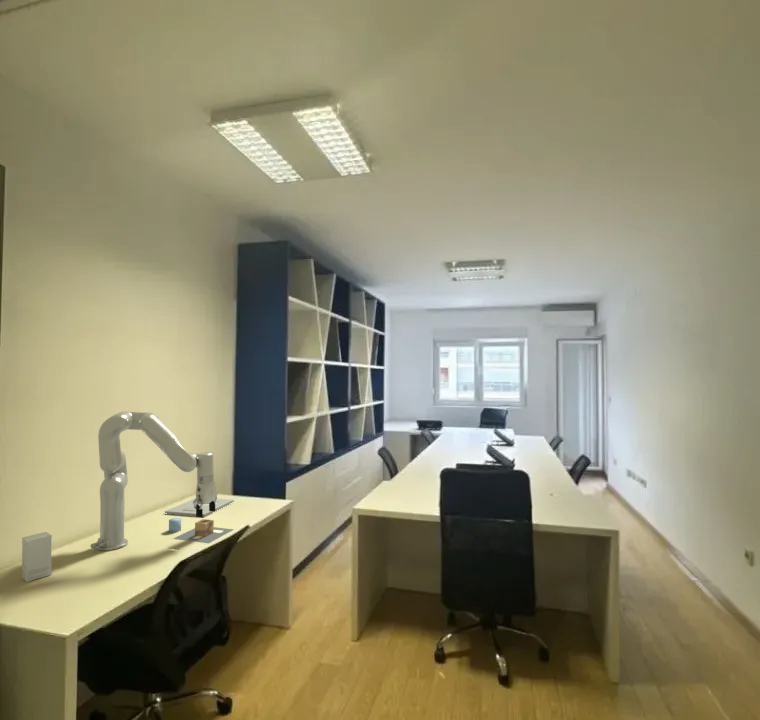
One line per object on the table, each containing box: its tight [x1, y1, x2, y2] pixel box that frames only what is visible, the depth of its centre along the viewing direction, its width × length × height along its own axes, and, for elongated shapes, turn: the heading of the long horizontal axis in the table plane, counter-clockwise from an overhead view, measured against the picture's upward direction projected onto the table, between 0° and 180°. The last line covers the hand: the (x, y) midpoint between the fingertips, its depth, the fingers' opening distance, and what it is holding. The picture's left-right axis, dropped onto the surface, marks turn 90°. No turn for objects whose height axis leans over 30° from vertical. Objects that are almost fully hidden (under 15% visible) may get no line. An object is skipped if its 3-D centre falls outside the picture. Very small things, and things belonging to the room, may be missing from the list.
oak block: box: [194, 518, 215, 537], centre depth 228 cm, size 6×6×6 cm
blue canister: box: [168, 517, 182, 533], centre depth 233 cm, size 6×6×6 cm
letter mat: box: [172, 526, 235, 544], centre depth 228 cm, size 20×20×1 cm
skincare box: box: [21, 531, 52, 583], centre depth 182 cm, size 8×7×16 cm
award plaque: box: [164, 497, 235, 518], centre depth 273 cm, size 25×30×2 cm
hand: (205, 514), depth 228 cm, fingers open, 9 cm apart
